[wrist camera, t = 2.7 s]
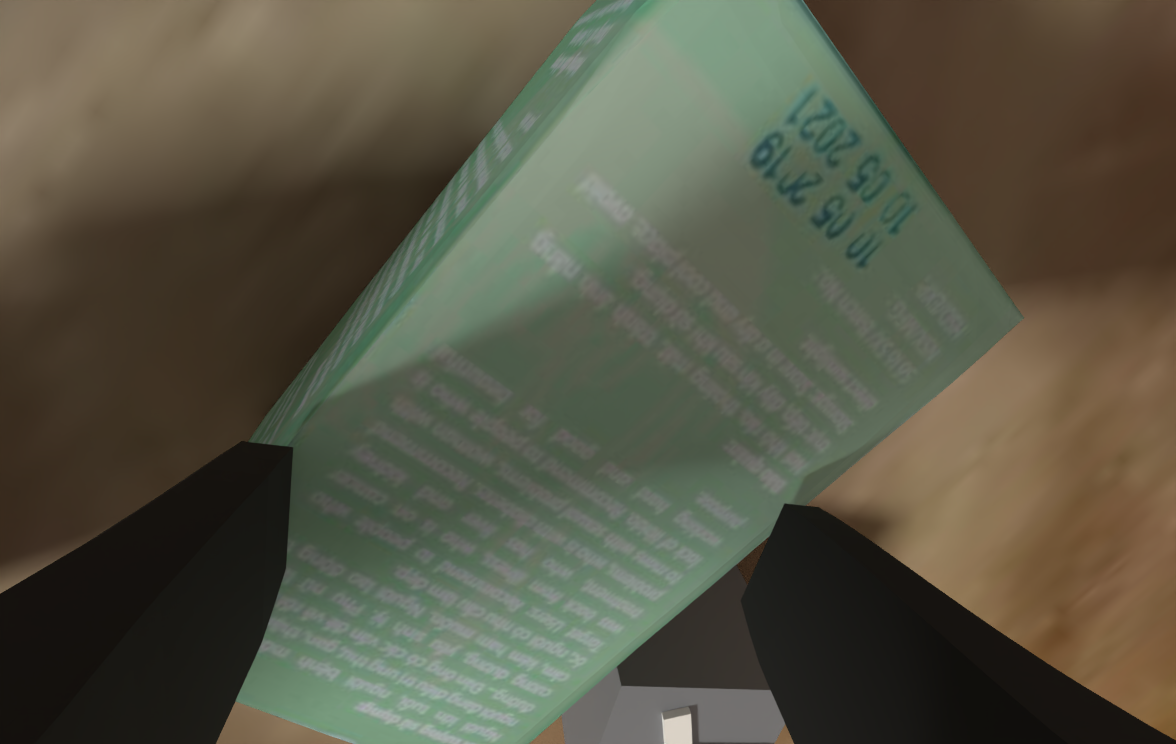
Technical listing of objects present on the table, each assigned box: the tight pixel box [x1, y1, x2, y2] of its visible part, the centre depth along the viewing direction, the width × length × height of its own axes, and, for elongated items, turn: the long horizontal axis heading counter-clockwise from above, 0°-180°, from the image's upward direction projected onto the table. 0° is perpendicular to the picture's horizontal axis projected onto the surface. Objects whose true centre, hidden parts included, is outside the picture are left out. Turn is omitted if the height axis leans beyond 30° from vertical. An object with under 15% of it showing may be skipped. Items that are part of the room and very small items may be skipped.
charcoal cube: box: [562, 565, 785, 744], centre depth 18 cm, size 5×5×5 cm
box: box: [236, 0, 1024, 744], centre depth 12 cm, size 7×14×8 cm, turn 137°
